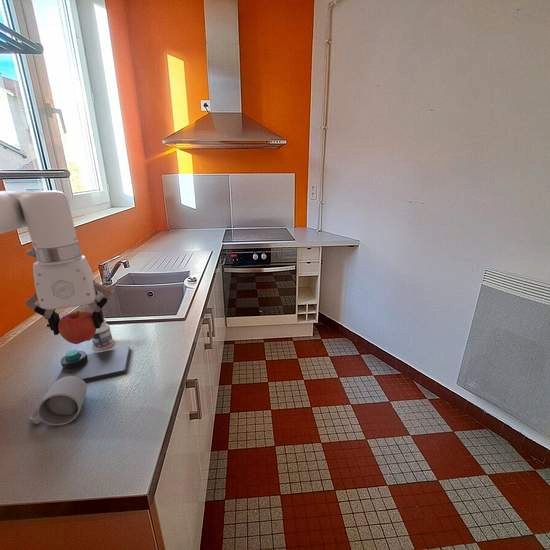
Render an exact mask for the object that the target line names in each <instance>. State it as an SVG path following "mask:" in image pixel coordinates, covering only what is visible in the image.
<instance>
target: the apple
mask: <svg viewBox="0 0 550 550" xmlns="http://www.w3.org/2000/svg"><path fill="white" fill-rule="evenodd" d="M92 313H93V311H90V310H85V309H84V310H83V309H82V310H75V311H71V312H70V313H67V314H65V315H63V316H62V317H60V321H59V323H58V330H59V335H60V336H61V337H62V338H63V339H64V341H67V342H68V343H70V344H73V345H80V344H81V343H84V342H89V341H92V338H93V336H94V334H95V332H96V329H97V328H96V327H95V323H94V319H93V315H92Z"/></svg>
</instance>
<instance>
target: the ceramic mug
mask: <svg viewBox="0 0 550 550" xmlns="http://www.w3.org/2000/svg"><path fill="white" fill-rule="evenodd" d="M56 380H57V379H56ZM56 380H55V382H54V383H53V384H51V386H50V388H48V390H47V392H46V393H45V395H44V397H43V398H42V399H41V401H40V402H39V404H38V406H37V408H36V409H35V410H34V411H33V412H32V413H31V415H30V417H29V421H30V422H32V423H33V424H35V425H39V424H41V423H42V422H43V423H45V424H46V425H49V426H64V425H67V424H70V423H71V422H73V421H74V420H75V419H76V418H77V417H78V416H79V414H80V412H81V409H82V406H83V404H84V401H85V398H86V395H87V392H88V391H87V390H88V387H87V382H86V383H85V382H84V381H83V380H82V379H81V378H79V377H76V376H66V377H63V378H60V379H59V380H57V381H56Z"/></svg>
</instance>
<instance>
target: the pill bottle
mask: <svg viewBox="0 0 550 550" xmlns="http://www.w3.org/2000/svg"><path fill="white" fill-rule="evenodd" d="M91 341H92V345H93V347H94V349H95V350H97V351H98V350H99V351H100V350H105V349H108V348H110V347H112V346H113V344H114V340H113V335H112V331H111V328H110V325H109V324H108V323H107V320H106V318H105V317H104V322H103V323H102V324H101V327H100V328H98V329H96V332H95V334H94V336H93V338H92V339H91Z"/></svg>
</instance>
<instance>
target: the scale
mask: <svg viewBox="0 0 550 550" xmlns="http://www.w3.org/2000/svg"><path fill="white" fill-rule="evenodd" d="M78 351H79V354H80V358H78V359H76V360H74V361H67V358H66V355H64V356H62V358H61V359H60V365H61V367H62V369H61V370H60V372H59V374H58V376H57V379H56V380H55V382H56V381H57V380H59V379H60V378H63V377H66V376H76V377H79V378H81V379H82V380H83V381H84V382H85V383H86V384H87V383H90V382H91V383H92V382H94V381H99V380H105V379H108V378H114V377H118V376H123V375H126V374H127V368H128V363H129V358H130V353H131V348H130V346H125V347H119V348H114V349H113V348H112V349H109V350H103V351H98V352H97V351H96V352H93V353H86V351H82V350H78Z"/></svg>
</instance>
